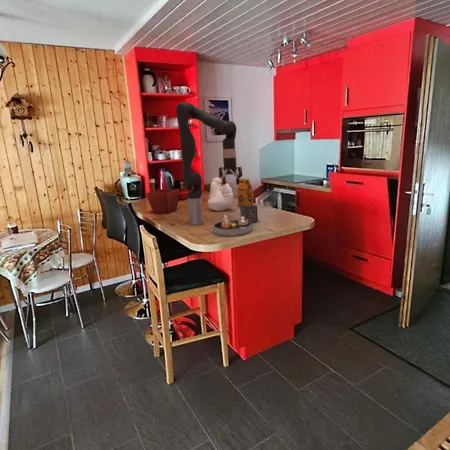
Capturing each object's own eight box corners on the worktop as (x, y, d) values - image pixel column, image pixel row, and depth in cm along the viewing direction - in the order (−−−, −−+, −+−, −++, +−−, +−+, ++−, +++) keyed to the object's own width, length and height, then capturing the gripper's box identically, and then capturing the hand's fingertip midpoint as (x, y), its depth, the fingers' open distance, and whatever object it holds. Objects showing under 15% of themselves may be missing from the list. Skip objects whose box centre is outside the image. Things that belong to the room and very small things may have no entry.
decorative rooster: (205, 209, 266) (202, 177, 260) (223, 206, 272) (221, 175, 266) (219, 215, 244) (216, 180, 238) (238, 211, 250) (236, 178, 244)
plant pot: (147, 214, 262) (145, 192, 258) (162, 209, 279) (159, 188, 275) (168, 215, 255) (166, 192, 250) (181, 209, 271) (179, 188, 267)
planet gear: (220, 232, 194) (219, 223, 193) (228, 230, 197) (228, 221, 196) (225, 234, 189) (225, 225, 188) (234, 232, 192) (234, 223, 191)
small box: (258, 220, 221) (257, 204, 218) (257, 222, 215) (256, 206, 212) (241, 220, 223) (241, 205, 220) (240, 223, 216) (239, 207, 214)
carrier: (205, 231, 203) (204, 217, 201) (237, 224, 214) (236, 211, 212) (226, 239, 184) (225, 224, 182) (260, 231, 195) (259, 217, 193)
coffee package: (245, 209, 258) (244, 180, 253) (236, 206, 269) (234, 179, 263) (256, 207, 263) (254, 178, 258) (246, 205, 274) (245, 177, 268)
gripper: (243, 156, 197) (244, 183, 201) (221, 156, 204) (223, 183, 208) (237, 156, 191) (239, 185, 195) (215, 157, 197) (217, 185, 201)
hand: (231, 184), depth 201 cm, fingers open, 8 cm apart
